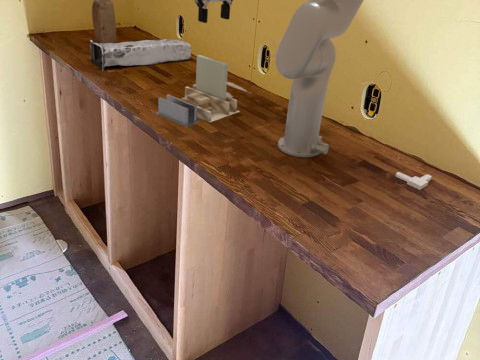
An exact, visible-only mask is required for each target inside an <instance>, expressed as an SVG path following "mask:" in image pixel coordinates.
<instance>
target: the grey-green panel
mask: <svg viewBox="0 0 480 360" xmlns="http://www.w3.org/2000/svg"><path fill="white" fill-rule="evenodd" d="M195 70H196V71H195V72H196V74H195V76H196V77H195V85H196V90H198V91H201V92H203V93H206V94H209V95H211V96H214V97H216V98H219V99H222V100H224V101H226V92H227V86H228V85H227V82H228V72H229V71H228V70H229V64H228V63H227V62H224V61H220V60H217V59H214V58H211V57H208V56H205V55H202V54H198V55H196V69H195Z"/></svg>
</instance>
